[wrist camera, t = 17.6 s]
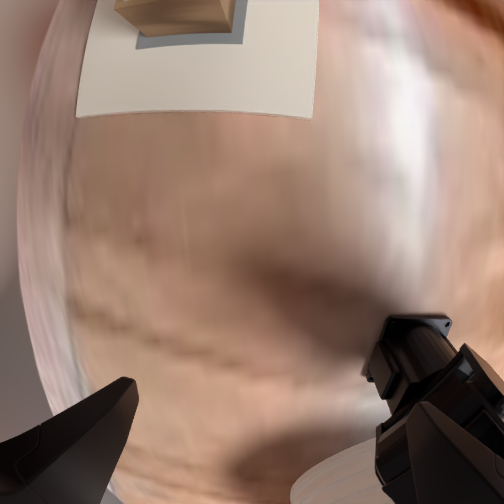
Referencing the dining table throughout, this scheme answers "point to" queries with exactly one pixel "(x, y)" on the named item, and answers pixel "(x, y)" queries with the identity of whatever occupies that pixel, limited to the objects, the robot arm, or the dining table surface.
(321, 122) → the dining table surface
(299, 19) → the off-white flat square slab
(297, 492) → the plate stack
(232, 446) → the dining table surface
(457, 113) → the dining table surface
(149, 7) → the walnut block
